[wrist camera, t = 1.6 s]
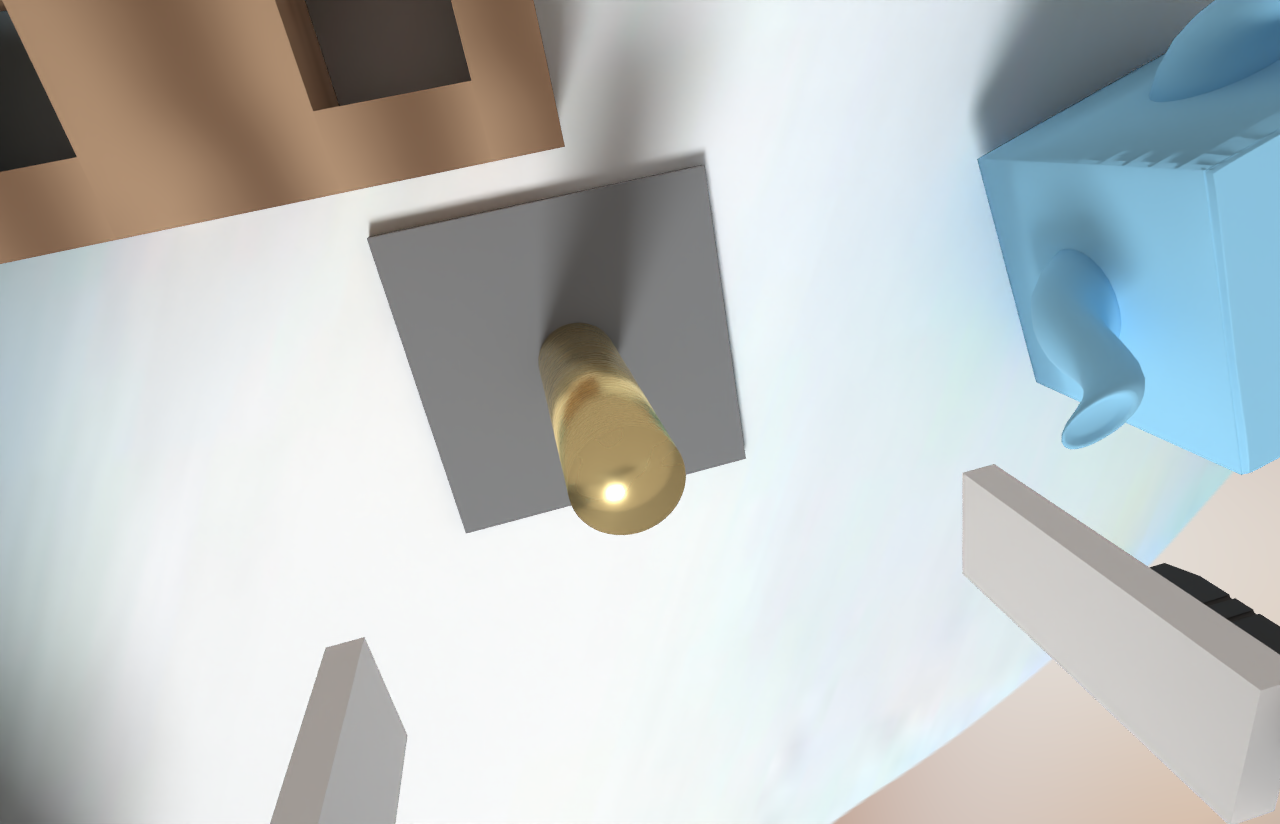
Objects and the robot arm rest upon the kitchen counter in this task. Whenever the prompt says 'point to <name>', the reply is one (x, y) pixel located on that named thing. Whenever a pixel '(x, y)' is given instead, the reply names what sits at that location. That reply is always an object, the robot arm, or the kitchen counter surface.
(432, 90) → the hole block
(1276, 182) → the teakettle
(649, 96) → the kitchen counter surface
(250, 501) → the kitchen counter surface
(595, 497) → the peg
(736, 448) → the mat
